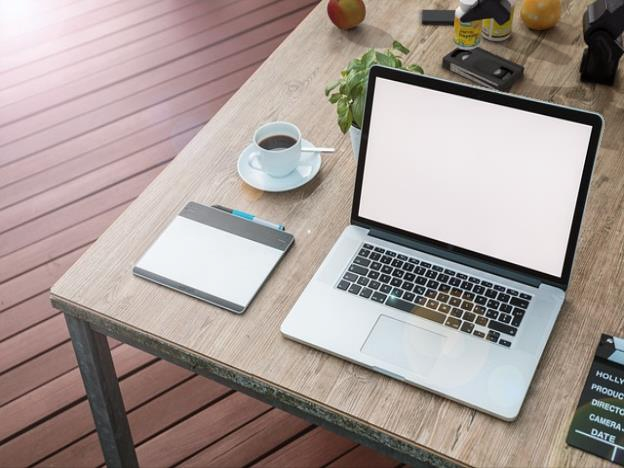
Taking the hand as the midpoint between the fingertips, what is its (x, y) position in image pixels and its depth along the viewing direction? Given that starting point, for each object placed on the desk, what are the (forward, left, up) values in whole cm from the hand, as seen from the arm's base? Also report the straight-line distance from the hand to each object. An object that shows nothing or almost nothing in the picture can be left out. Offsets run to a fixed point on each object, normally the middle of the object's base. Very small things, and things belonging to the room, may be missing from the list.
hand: (461, 13), depth 161 cm
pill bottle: (-5, -13, -12) cm, 19 cm away
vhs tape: (-5, +1, -12) cm, 13 cm away
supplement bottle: (-1, 0, -7) cm, 7 cm away
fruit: (-13, -19, -12) cm, 26 cm away
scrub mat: (+7, -16, -12) cm, 21 cm away
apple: (+26, -7, -12) cm, 29 cm away
